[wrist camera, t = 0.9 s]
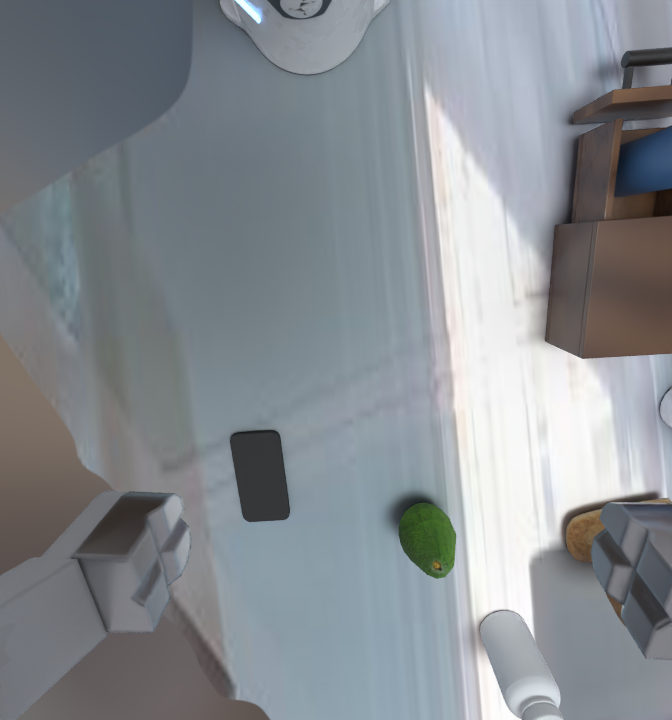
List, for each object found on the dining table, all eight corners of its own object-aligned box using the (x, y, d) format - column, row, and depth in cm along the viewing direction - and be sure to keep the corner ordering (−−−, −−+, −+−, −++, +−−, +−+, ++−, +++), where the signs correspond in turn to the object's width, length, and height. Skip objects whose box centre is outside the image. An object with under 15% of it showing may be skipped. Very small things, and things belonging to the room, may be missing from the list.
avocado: (450, 493, 60) (475, 552, 49) (439, 536, 62) (462, 601, 51) (398, 487, 60) (412, 544, 49) (390, 530, 62) (401, 594, 51)
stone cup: (564, 568, 64) (629, 662, 50) (559, 507, 61) (627, 588, 46) (660, 552, 63) (755, 643, 48) (660, 489, 60) (762, 566, 45)
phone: (279, 431, 57) (290, 519, 61) (279, 429, 58) (291, 516, 62) (228, 435, 57) (243, 522, 61) (230, 432, 58) (244, 519, 62)
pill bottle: (533, 632, 68) (585, 737, 53) (490, 650, 69) (530, 757, 55) (514, 601, 66) (562, 701, 52) (470, 620, 67) (506, 722, 53)
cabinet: (554, 225, 49) (597, 220, 41) (657, 218, 49) (721, 212, 41) (545, 341, 53) (582, 358, 45) (639, 335, 53) (694, 352, 45)
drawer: (577, 69, 44) (619, 38, 37) (681, 61, 43) (742, 28, 37) (562, 239, 49) (596, 238, 42) (655, 233, 48) (704, 231, 42)
